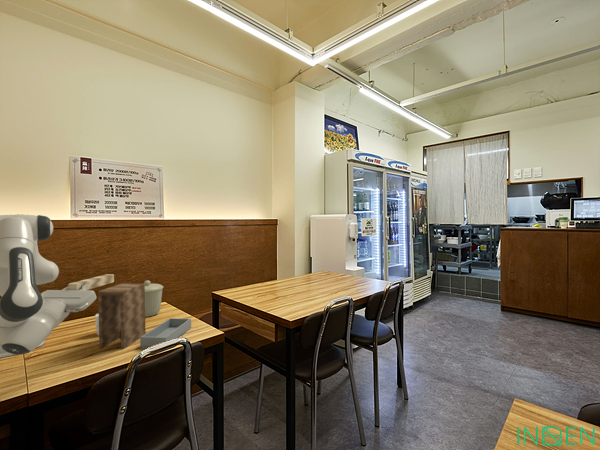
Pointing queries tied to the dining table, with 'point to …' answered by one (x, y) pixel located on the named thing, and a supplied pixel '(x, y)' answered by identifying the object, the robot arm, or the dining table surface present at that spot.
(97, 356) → the dining table surface
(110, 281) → the bar
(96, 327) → the white cup
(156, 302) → the canister
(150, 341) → the tray
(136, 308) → the zigzag patterned arch
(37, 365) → the dining table surface
